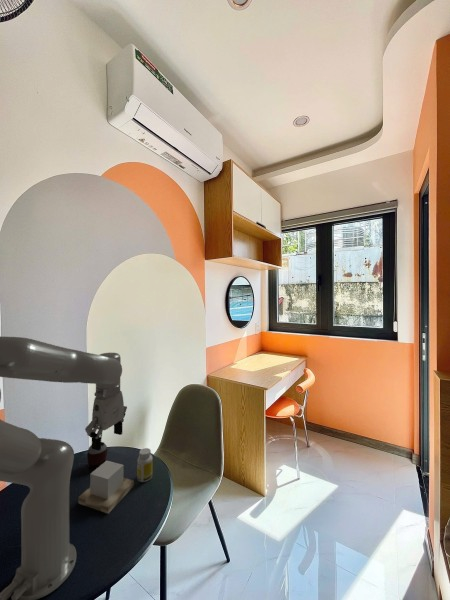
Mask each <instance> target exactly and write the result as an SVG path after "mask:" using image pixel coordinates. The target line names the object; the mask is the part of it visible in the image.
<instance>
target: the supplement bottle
mask: <svg viewBox="0 0 450 600" xmlns="http://www.w3.org/2000/svg"><path fill="white" fill-rule="evenodd" d="M136 463H137V464H136V467H137V468H136V469H137V470H136V471H137V474H136V475H137V477H136V478H137V481H138V482H140V483H146V482H148V481H150V480H151V479H152V478H153V473H154V471H153V465H154V464H153V455H152V451H151V449H150V448H148V447H146V448H141V449H140V450H139V455H138V458H137V461H136Z"/></svg>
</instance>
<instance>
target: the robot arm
mask: <svg viewBox="0 0 450 600" xmlns="http://www.w3.org/2000/svg"><path fill="white" fill-rule="evenodd" d="M121 361H122V360H121V355H120V354H119V352H118V353H117V352H104V353H101V354H95V353H90V352H86V351H82V350H78V349H72V348H67V347H63V346H60V345H55V344H51V343H47V342H43V341H40V340H35V339H32V338H29V337H19V336H1V335H0V378H8V379H19V380H26V381H27V380H29V381H39V382H41V381H42V382H52V383H67V384H68V383H69V384H74V383H76V384H77V383H79V384H80V383H81V384H89V385H90V384H94V385H95V392H94V396H95V397H94V400H93V405H92V406H93V407H92V415H91V416H92V417H91V421H90V422H89V424H88V425H87V426H86V427H85V432H86V434H87V436H89V438H91V445H92V449H94V450H98V451H99V450H101V442H102V439H101V437H100V435H101V432H102V433H103V431H106V430H108V429H110V428H111V427H113V434H116V435H120V436H121V435H123V424H124V420H125V419H124V418H125V416H126V412H127V409H128V406H127V405H125V404H124V403H125V402H124V396H123V392H122V390H121V376H122V374H123V367H122V366H123V365H122V363H121ZM1 399H2V390H1V388H0V402H1ZM102 430H103V431H102ZM74 460H75V451H74V449H73V446H72V445H70V443H68V442H66V441H63V440H60V439H53V438H46V437H45V438H44V437H41V438H40V437H38V436H37V435H36V434H35V433H34V432H32V431H31V430H29V429H26V428H23V427H20V426H17V425H14V424H11V423H9V422H6V421H5V420H2V419H0V482H4V483H11V484H16V485H17V484H18V485H23V486H27V487H28V488H29V493H28V494H27V495H26V497H25V498H24V500H23V502H22V504H21V509H20V513H21V514H20V520H21V522H20V523H21V524H20V525H21V528H20V529H21V531H20V532H21V538H20V539H21V540H20V542H21V544H20V547H21V556H20V557H21V559H20V560H21V563H20V564H21V565H20V566H18V567H17V568H16V569H15V570H16V571H15V575H14V578H13V579H12V580H11V583H9V585H8V586H6V587H5V588H4V589H3V590H2V591H1V592H0V600H8V599H9V598H10V597H11V600H39V599H41V598H43V597H46V596H48V595H49V594H51V593H53V592H54V591H55V590H56V589H58V588H59V587H60V586H61V585H62V584H63V583H64V582H65V581H66V580H67V579H68V578H69V576H70V575H71V573H72V572H73V570H74V568H75V565H76V563H77V550H76V547H75V546H74V544H72V543H70V483H71V481H70V480H71V474H72V469H73V465H74Z"/></svg>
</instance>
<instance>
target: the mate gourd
mask: <svg viewBox="0 0 450 600" xmlns="http://www.w3.org/2000/svg"><path fill="white" fill-rule="evenodd" d="M103 431H104V430H102V432H101V435H100V437H101V440H102V438H103ZM107 454H108V445H106V443H105V442H104V441H101V450H99V451H98V450H94V449H92V444H91V445H90V446H89V447H88V449H87V454H86V456H87V464H88V470H91V469H94V468H96V469H97V468H98V467H99V466H101V465H102V464H103V463H104V462H106V461H107V459H106V458H107V456H108V455H107Z"/></svg>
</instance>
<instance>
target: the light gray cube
mask: <svg viewBox="0 0 450 600" xmlns="http://www.w3.org/2000/svg"><path fill="white" fill-rule="evenodd" d="M105 461H106V462H104V463H103V464H101V465H100V466H99V467H98V468H97V467H96V469H94V470H93V471H92V472H91V473H90V474H89V476H90V478H89V479H90V481H89V482H90V483H89V484H90V485H89V488H90V494H93V495H96V496H99V497H102V498H105V499H109V498H110V497H111V496H112V495H113V494H114V493H115V492H116V491H117V490H118V489H119V488H120V487H121V486H122V485H123V484H124V478H125V477H124V474H125V473H124V472H125V470H124V466H125V465H124V464H121V463H117V462H113V461H110V460H105Z"/></svg>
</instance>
